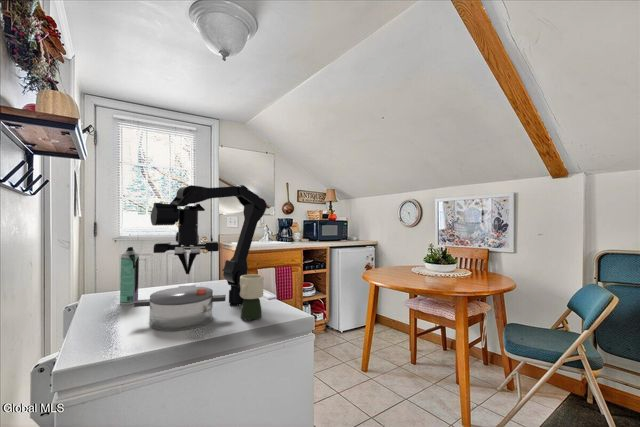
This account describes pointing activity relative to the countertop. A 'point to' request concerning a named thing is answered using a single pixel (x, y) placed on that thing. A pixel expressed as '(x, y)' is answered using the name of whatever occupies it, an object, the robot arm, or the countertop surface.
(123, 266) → the spray can
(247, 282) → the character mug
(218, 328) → the countertop surface
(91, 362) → the countertop surface
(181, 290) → the cooker lid
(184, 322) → the cooker pot
